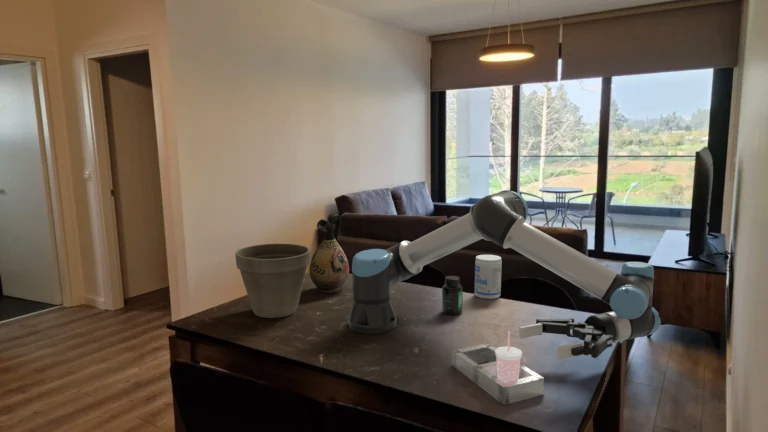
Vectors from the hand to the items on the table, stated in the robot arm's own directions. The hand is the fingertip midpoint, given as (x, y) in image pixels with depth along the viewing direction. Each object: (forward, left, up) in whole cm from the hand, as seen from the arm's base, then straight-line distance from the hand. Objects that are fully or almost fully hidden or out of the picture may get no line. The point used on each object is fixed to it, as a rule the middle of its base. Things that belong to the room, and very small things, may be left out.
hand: (538, 342), depth 120 cm
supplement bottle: (-52, +7, -10) cm, 53 cm away
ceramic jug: (-96, -22, -10) cm, 99 cm away
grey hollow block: (-5, -8, -10) cm, 14 cm away
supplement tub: (-62, +28, -10) cm, 69 cm away
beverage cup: (0, -8, -10) cm, 13 cm away
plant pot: (-79, -47, -10) cm, 92 cm away
